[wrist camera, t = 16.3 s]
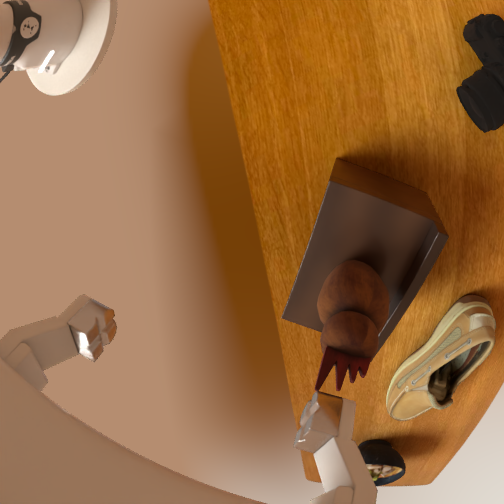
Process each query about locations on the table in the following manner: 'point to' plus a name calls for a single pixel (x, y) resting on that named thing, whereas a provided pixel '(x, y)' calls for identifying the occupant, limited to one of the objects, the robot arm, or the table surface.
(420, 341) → the table surface
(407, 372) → the boat shoe
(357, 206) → the display shelf
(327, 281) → the wooden figurine
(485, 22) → the film camera
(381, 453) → the bowl
